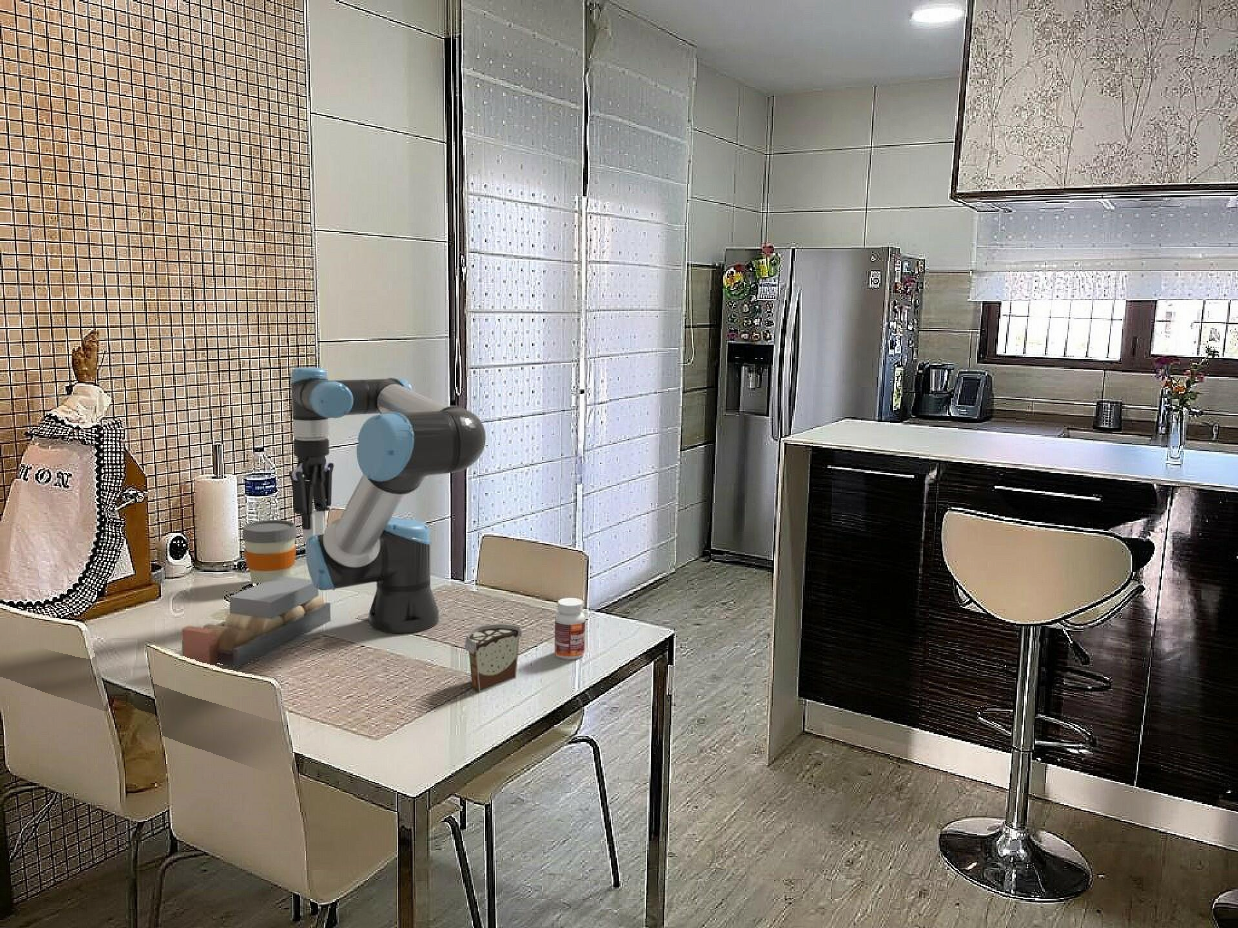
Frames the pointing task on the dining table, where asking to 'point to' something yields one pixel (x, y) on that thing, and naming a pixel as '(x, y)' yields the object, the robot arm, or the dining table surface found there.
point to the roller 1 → (230, 636)
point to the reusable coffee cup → (269, 549)
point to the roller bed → (204, 648)
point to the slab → (273, 597)
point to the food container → (493, 655)
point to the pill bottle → (570, 629)
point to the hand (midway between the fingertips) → (314, 540)
